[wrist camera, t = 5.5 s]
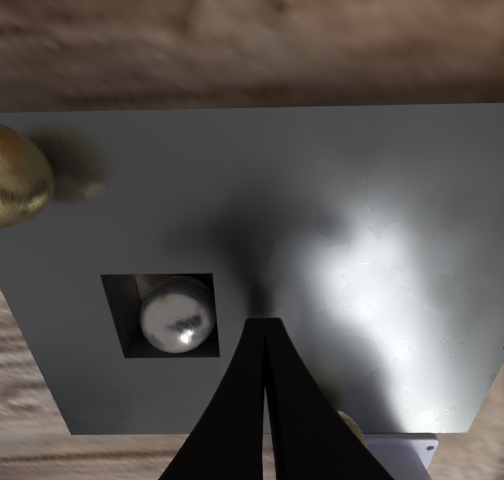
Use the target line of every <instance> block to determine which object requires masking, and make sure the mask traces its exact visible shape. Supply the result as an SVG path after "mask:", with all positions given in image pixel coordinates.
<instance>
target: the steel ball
mask: <svg viewBox="0 0 504 480" xmlns="http://www.w3.org/2000/svg"><path fill="white" fill-rule="evenodd" d="M216 319H217V316H216V304H215V297H214V295H213V293H212V291H211V290H210V288H209V287H208V286H207V285H206V284H205V283H203V282H202V281H201V280H199V279H197V278H194V277H191V276H183V275H180V276H173V277H169V278H166V279H164V280H162V281H161V282H159V283H158V284H156V285H155V286H154V287H153V288H152V289H151V290H150V291H149V292H148V294H147V295H146V297H145V299H144V301H143V303H142V306H141V310H140V325H141V328H142V331H143V334H144V335H145V337H146V339H147V340H148V341H149V342H150V343H151V344H152V345H153V346H154V347H156V348H158V349H159V350H162V351H165V352H169V353H181V352H186V351H189V350H192V349H194V348H196V347H197V346H199V345H200V344H202V343H203V342H204V341H205V340H206V339H207V337H208V336H209V335H210V333H211V332H212V330H213V328H214V326H215V323H216Z"/></svg>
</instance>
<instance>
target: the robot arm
mask: <svg viewBox="0 0 504 480" xmlns="http://www.w3.org/2000/svg"><path fill="white" fill-rule="evenodd" d="M265 390H266V397H267V405H268V413H269V421H270V428H271V436H272V444H273V452H274V460H275V471H276V480H431V478H430V476H429V474H428V472H427V468H428V466H429V464H430V462H431V459H432V457H433V455H434V453H435V451H436V449H437V446H438V444H439V440H438V439H437V437H436V436H435V435H434V434H431V433H396V434H363V436H364V438H365V441H366V444H367V448H368V449H367V448H366V447H365V445H364V444H363V443H362V442H361V441H360V440H359V438H358V437H357V436H356V435H355V433H354V432H353V431H352V430H351V429H350V427H349V426H348V425H347V424H346V422H345V421H344V420H343V419H342V417H341V416H340V415H339V413H338V412H337V411H336V409H335V408H334V407H333V405H332V404H331V403H330V401H329V400H328V399H327V397H326V396H325V394H324V393H323V392H322V390H321V389H320V387H319V386H318V384H317V383H316V381H315V380H314V378H313V377H312V375H311V374H310V372H309V370H308V369H307V367H306V366H305V364H304V362H303V361H302V359H301V357H300V356H299V354H298V352H297V350H296V349H295V347H294V345H293V343H292V341H291V339H290V337H289V335H288V333H287V331H286V329H285V326H284V324H283V321H282V319H280V318H247V319H246V320H245V323H244V327H243V331H242V334H241V337H240V340H239V343H238V345H237V348H236V350H235V353H234V355H233V357H232V360H231V362H230V364H229V366H228V368H227V370H226V372H225V374H224V376H223V378H222V380H221V382H220V384H219V386H218V388H217V390H216V392H215V394H214V395H213V397H212V399H211V401H210V403H209V404H208V406H207V408H206V409H205V411H204V413H203V414H202V416H201V418H200V419H199V421H198V423H197V424H196V426H195V427H194V429H193V430H192V432H191V433H190V435H189V436H188V438H187V439H186V441H185V442H184V444H183V446H182V447H181V448H180V450H179V451H178V453H177V454H176V456H175V457H174V459H173V460H172V461H171V463H170V464H169V466H168V467H167V468H166V470H165V471H164V472H163V474H162V475H161V476H160V478H159V479H158V480H263V464H262V444H263V421H264V397H265Z"/></svg>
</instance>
